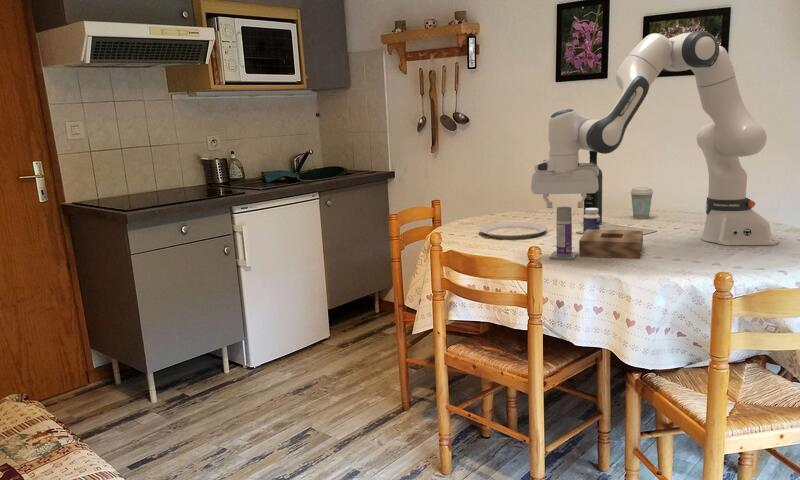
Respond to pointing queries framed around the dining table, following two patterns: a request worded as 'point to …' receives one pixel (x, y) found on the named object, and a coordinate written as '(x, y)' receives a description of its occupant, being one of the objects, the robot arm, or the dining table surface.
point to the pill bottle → (591, 219)
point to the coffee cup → (641, 202)
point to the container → (564, 231)
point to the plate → (527, 225)
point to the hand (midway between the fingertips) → (564, 207)
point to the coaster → (570, 257)
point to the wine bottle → (596, 198)
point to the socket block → (611, 243)
